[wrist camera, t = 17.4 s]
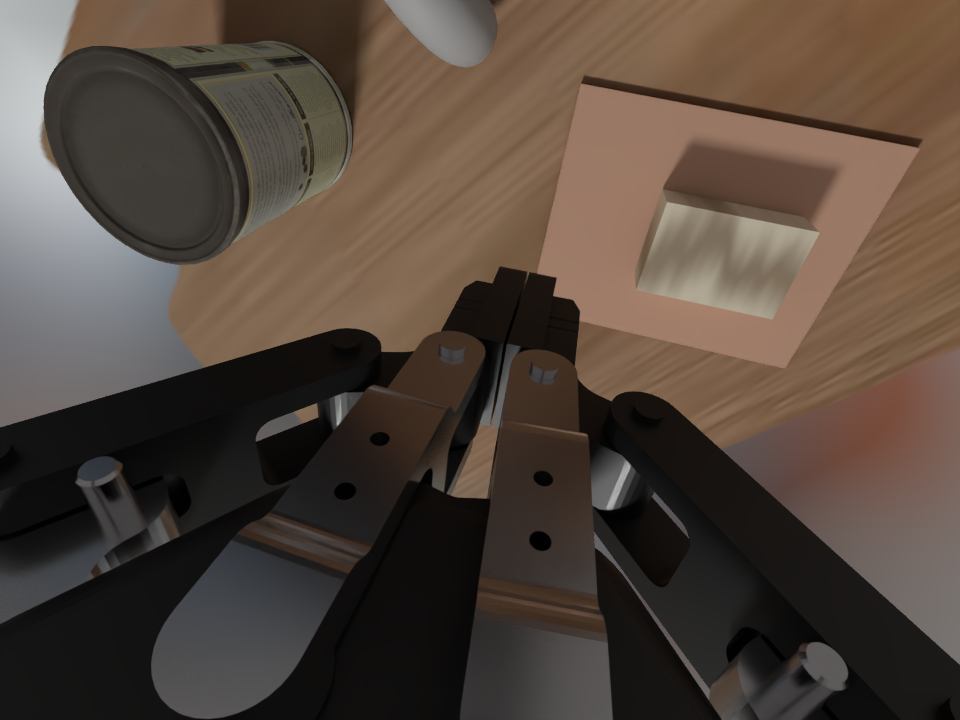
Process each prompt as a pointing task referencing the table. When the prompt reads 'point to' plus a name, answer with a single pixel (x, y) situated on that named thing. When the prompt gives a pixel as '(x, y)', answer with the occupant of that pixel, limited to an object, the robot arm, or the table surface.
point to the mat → (716, 175)
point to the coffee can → (194, 140)
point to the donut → (450, 27)
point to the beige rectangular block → (722, 253)
